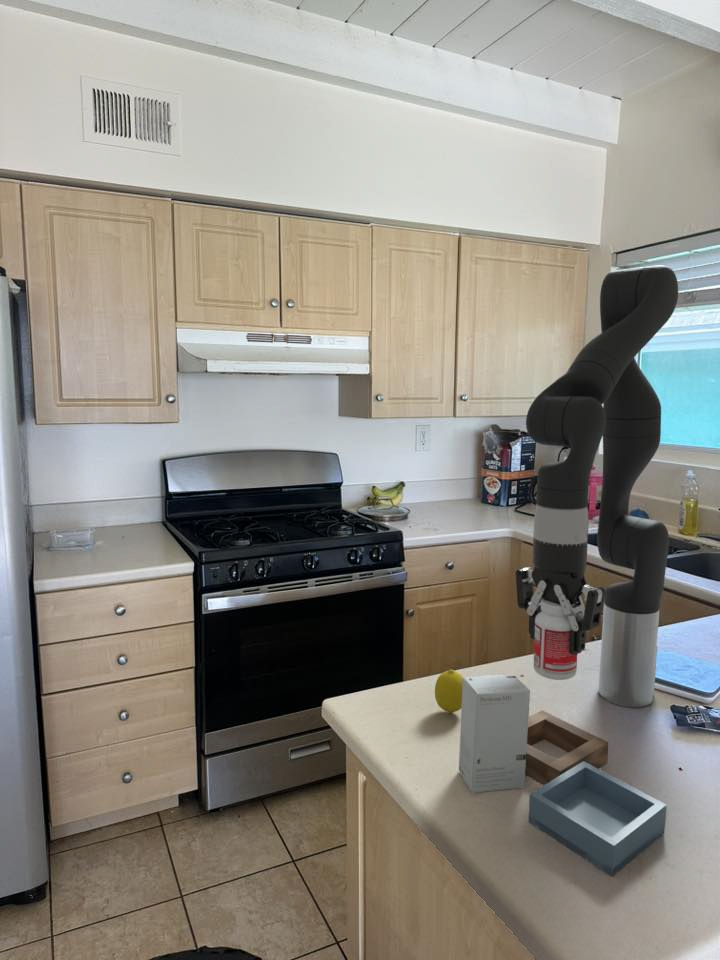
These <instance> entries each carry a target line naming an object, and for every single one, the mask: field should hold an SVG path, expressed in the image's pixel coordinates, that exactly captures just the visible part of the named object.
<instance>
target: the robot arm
mask: <svg viewBox="0 0 720 960" xmlns="http://www.w3.org/2000/svg"><path fill="white" fill-rule="evenodd" d="M599 295H600V296H599V310H600V312H599V313H600V329H601V330H600V331H601V333H600V334H598V335H597V336H595V337H594V338H592V339H591V340H590V341H589V342H587V344H585V346H584V347H583V348H582V349H581V350H580V352H579V353H578V354H577V355H576V357H575V359H574V360H573V362H572V363H571V365H570V367H569V368H568V370H567V371H566V372H565V373H564V374H563V375H561V376H560V377H558V378H557V379H556V380H555V381H554V382H552V383H551V384H550V385H549V386H547V387H546V388H545V389H544V390H543V391H541V392H540V393H539V394H538V395H537V396H536V397H535V399H534V400H533V401H532V403H531V405H530V406H529V408H528V411H527V415H526V418H525V428H526V431H527V434H528V436H529V438H530V439H532V441H533V442H535V443H537V444H540V445H543V446H555V447H568V448H570V451H569V453H568V455H567V457H566V458H565V460H563V461H561V460H560V461H554V462H552V461H551V462H547V463H544V464H542V465H541V466H540V467H539V469H538V471H537V479H536V480H537V481H536V502H535V503H536V504H535V512H534V517H533V532H532V533H533V539H532V565H533V566H534V567H533V569H532V568H531V567H530V566H526V567H523V568H519V569H517V570H516V571H515V582H516V584H515V585H516V596H517V597H516V599H517V601H516V602H517V607H518V608H519V609H524V610H525V611H526V613H527V614H528V633H529V635H530V639H531V640H533V641H534V638H535V618H536V616H537V614H538V613H540V612H542V610H541V599H542V598H543V599H544V600H547V601H550V602H553V603H556V604H560V605H561V607H562V609H563V612H564V614H565V615H566V616H567V617H568V620H569V622H570V625H571V628H572V629H571V630H570V646H569V653H570V654H573V655H576V654H577V655H578V654H580V653H581V652H582V651H584V650H585V648H586V638H587V631H590V630H593V629H595V628H597V627H599V626H600V624H601V619H602V629H601V630H602V631H601V642H600V643H601V644H600V645H601V647H600V661H599V662H600V664H599V676H598V677H599V679H598V693H599V695H600V696H601V697H602V698H604V700H607V701H608V702H610V703H613V704H615V705H619V706H622V707H629V708H630V707H631V708H641V707H642V708H643V707H646V706H649V705H651V704H652V702H653V699H654V694H655V686H656V685H655V683H656V682H655V681H656V669H657V659H658V658H657V656H658V634H659V633H658V632H659V622H660V621H659V620H660V619H659V618H660V607H661V606H660V605H661V600H662V596H663V593H664V588H665V587H664V586H665V578H666V569H667V564H668V563H667V562H668V555H669V550H670V549H669V547H670V536H669V530H668V528H667V525H665V524H664V523H663V522H661V521H659V520H655V519H649V518H643V517H637V516H634V515H629V505H630V499H631V493H632V489H633V487H634V485H635V484H636V481H637V480H638V479H639V477H640V475H642V473H643V471H644V470H645V469H646V467H647V466H648V465H649V463H650V462H651V460H652V459H653V458H654V456H655V454H656V453H657V451H658V449H659V446H660V444H661V433H662V431H661V430H662V405H661V400H660V398H659V397H658V395H657V393H656V391H655V389H654V388H653V386H652V384H651V383H650V381H649V380H648V377H646V375H645V374H644V373H643V371H642V369H641V367H640V366H639V364H638V363H637V361H636V358H635V357H636V356H637V355H638V353H640V351H642V349H643V348H644V347H645V346H646V345H647V344H648V343H649V342H650V341H651V340H652V339H653V338H654V336H656V334H657V333H658V332H659V331H660V330H661V329H662V328H663V327H664V326H665V325H666V323H668V321H669V320H670V319H671V317H672V315H673V314H674V312H675V310H676V306H677V303H678V298H679V282H678V277H677V275H676V273H675V271H674V270H673V269H672V268H671V267H670V266H665V265H647V266H642V267H634V268H633V267H632V268H625V269H617V270H612V271H610V272H608V273H607V274H606V275H605V277H604V279H603V281H602V284H601V287H600V293H599ZM601 442H602V485H601V495H600V505H599V514H598V515H599V516H598V523H597V524H598V525H597V535H596V536H597V538H596V539H597V540H596V541H597V544H596V545H597V550H598V554H599V555H598V556H599V557H600V558H601V559H602V561H604V562H605V563H607V564H610V565H614V566H617V567H621V568H625V569H629V570H633V571H634V573H633V578H632V580H631V581H623V582H615V583H612V584H610V585H608V586H607V587H606V588H604V587H601V586H599V587H594V586H591V585H589V584H587V581H586V578H585V573H586V570H587V565H588V564H587V563H588V561H587V560H588V546H589V545H588V544H589V543H588V542H589V541H588V539H589V523H590V521H589V511H588V509H589V508H588V504H589V502H588V501H589V485H590V484H589V482H590V477H591V472H592V468H593V465H594V461H595V458H596V455H597V452H598V449H599V446H600V444H601ZM534 584H535V586H536V589H535V591H534ZM582 594H583V595H584V598H583V599H582ZM583 600H584V601H585V603H584V601H583ZM573 603H574V607H573V608H572V607H571V604H573ZM602 613H603V614H602Z"/></svg>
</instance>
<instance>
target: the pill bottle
mask: <svg viewBox="0 0 720 960" xmlns="http://www.w3.org/2000/svg"><path fill="white" fill-rule="evenodd" d="M571 607H572V608H573V607H574V603H573V604H571ZM541 610H542V612H540V613H538V614H537V616H536V618H535V638H534V640H533V642H534V643H533V669H534V671H535V672H536V673H537V674H538V675H539V676H541V677H544V678H546V679H549V680H552V681H553V680H554V681H563V680H570V679H572V678H573V677H574V676H576V674H577V667H578V654H576V655H573V654H570V653H569V646H570V630H571V629H572V628H571V625H570V622H569V620H568V617H567V616H566V615H565V614H564V612H563V609H562V607H561V605H560V604H556V603H553V602H550V601H547V600H544V599H543V598H542V599H541Z"/></svg>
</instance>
